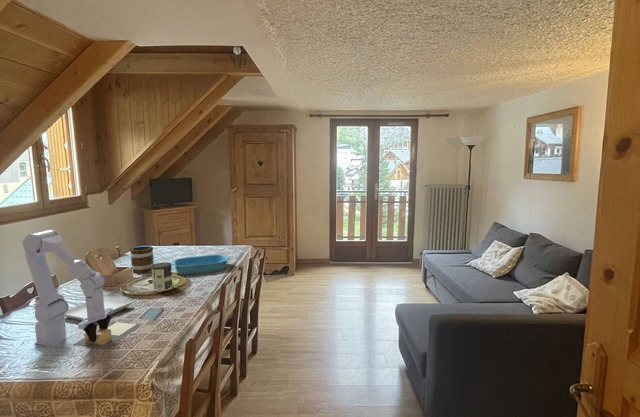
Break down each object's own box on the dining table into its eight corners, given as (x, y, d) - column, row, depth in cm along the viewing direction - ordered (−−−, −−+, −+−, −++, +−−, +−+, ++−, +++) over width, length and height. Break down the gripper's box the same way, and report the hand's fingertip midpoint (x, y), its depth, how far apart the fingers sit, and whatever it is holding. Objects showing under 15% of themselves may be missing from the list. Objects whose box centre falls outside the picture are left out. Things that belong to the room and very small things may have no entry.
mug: (153, 272, 220) (151, 249, 219) (129, 274, 216) (128, 251, 214) (156, 263, 239) (154, 243, 237) (134, 266, 234) (133, 244, 232)
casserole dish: (226, 262, 244) (226, 252, 243) (232, 270, 224) (232, 260, 223) (170, 268, 228) (170, 258, 227) (171, 279, 208) (171, 267, 207)
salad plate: (59, 319, 154) (58, 312, 154) (103, 301, 174) (102, 295, 173) (92, 327, 147) (91, 319, 146) (134, 307, 167) (133, 301, 166)
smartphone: (134, 323, 149) (148, 308, 164) (134, 325, 149) (148, 310, 164) (152, 322, 149) (164, 308, 164) (152, 324, 150) (164, 309, 164)
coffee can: (170, 284, 198) (169, 261, 196) (174, 290, 189) (173, 265, 187) (151, 288, 192) (149, 264, 190) (154, 293, 184) (152, 268, 182)
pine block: (85, 342, 132) (84, 333, 132) (94, 337, 137) (93, 327, 136) (102, 344, 131) (101, 335, 131) (111, 338, 135) (111, 329, 135)
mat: (72, 346, 131) (72, 344, 131) (112, 322, 150) (112, 321, 150) (106, 349, 128) (106, 348, 128) (142, 325, 148) (142, 324, 148)
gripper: (88, 313, 124) (91, 348, 126) (118, 298, 138) (120, 329, 140) (71, 312, 126) (75, 346, 127) (103, 297, 140) (106, 328, 141)
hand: (98, 337), depth 134 cm, fingers closed on pine block, 4 cm apart
